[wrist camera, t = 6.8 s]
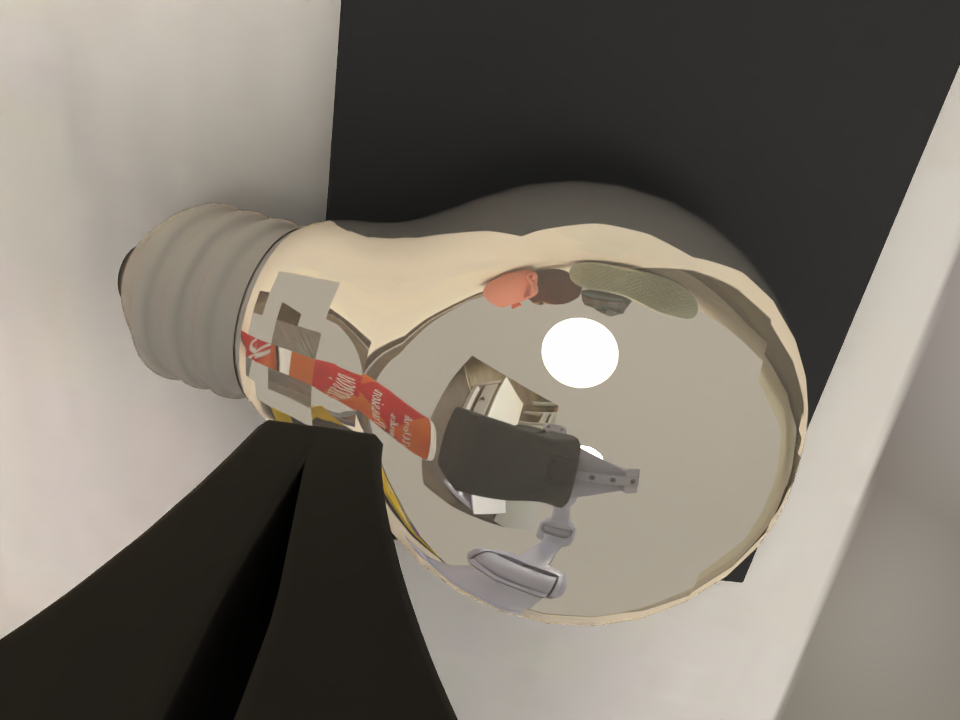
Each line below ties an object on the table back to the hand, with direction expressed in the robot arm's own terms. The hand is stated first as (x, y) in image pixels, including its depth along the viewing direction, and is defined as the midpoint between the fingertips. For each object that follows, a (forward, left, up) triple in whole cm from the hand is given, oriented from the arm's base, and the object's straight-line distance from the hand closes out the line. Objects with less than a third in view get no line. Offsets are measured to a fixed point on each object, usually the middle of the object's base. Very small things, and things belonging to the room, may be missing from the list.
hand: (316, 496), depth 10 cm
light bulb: (-1, +5, -6) cm, 8 cm away
